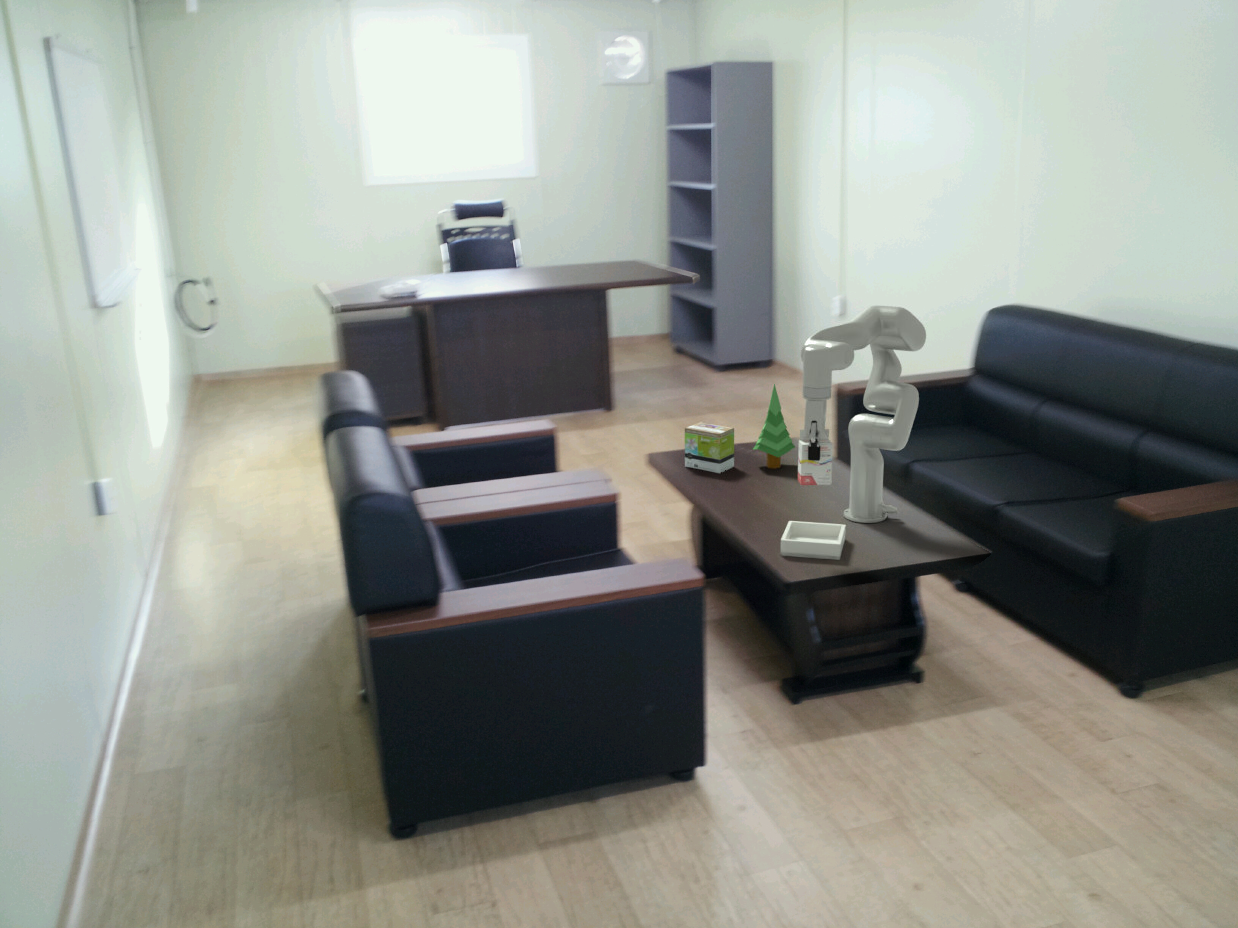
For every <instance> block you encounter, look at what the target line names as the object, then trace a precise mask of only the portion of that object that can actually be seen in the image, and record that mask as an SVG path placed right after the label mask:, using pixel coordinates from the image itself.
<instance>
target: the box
mask: <svg viewBox="0 0 1238 928" xmlns="http://www.w3.org/2000/svg"><path fill="white" fill-rule="evenodd" d="M846 526H847V525H846V524H840V523H829V522H828V523H827V522H811V521H798V520H796V521H795V520H788V522H787V524H786V527H785V530H784V532H783V534H782V536H781V538H780V556H783V557H798V558H811V559H821V560H823V559H824V560H836V561H840V560H841V556H842V552H843V549H844V546H845V541H846V531H847V530H846Z"/></svg>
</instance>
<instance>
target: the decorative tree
mask: <svg viewBox="0 0 1238 928" xmlns="http://www.w3.org/2000/svg"><path fill="white" fill-rule="evenodd" d="M772 387H773V388H772V392H771V397H770V401H769V405H768V409H767V415H766V417H765V421H764V425H763V427H762V429H761V432H760V434H759V436H758V439H757V441H756V442H755V446H754V447H753V448H752V450H753V451H755V450H758V451H761V452H763V453H766V466H767V468H768V469H778V468H781V458H782V456H783V455H785V454H787V453H788V452H790V451H791V450H793V449H795V448H796V446H795V444H793V439H792V438H791V437H790V432H789V430H788V429H787V425H786V423H785V421H784V420H785V419H784V416H783V413H782V407H781V403H780V398H779V395H778V391H777V387H776V384H775V383H774V384H773V386H772Z"/></svg>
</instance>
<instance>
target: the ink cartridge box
mask: <svg viewBox="0 0 1238 928" xmlns="http://www.w3.org/2000/svg"><path fill="white" fill-rule="evenodd" d="M809 433H810V431H809ZM809 433H808V434H807V435H806V436H805V435H804V429H800V430H799V440H798V453H797V454H798V457H797V459H798V460H797V482H798V483H799V484H800V486H830V485H832V481H833V479H832V478H833V477H832V476H833V452H834V451H833V449H834V448H833V447H834V446H833V445H834V444H833V442H832V441H831V440H830V437H829V435H830V429H828V428H825V430H824V432H823V434H822V435H821V436H820V443H819V446H820V460H819V461H814V460H808V445H809ZM816 438H818V437H816Z"/></svg>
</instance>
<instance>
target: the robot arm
mask: <svg viewBox="0 0 1238 928" xmlns="http://www.w3.org/2000/svg"><path fill="white" fill-rule="evenodd" d="M926 331H927V330H926V329H925V326H924V324H923V323H922V322H921V320H919V318H917V317H916V316H915V315H914V314H913V313H912V312H911V311H909V310H908V309H906V308H904V307H901V306H889V305H872V306H868V307H866V308H865V309H863V310H862V311H861V312H860V313H858V314H857V315H856V316H854V317H853V318H852V319H851V320H849V321H848V322H843V323H841V324H838V325H834V326H831V327H827V328H824V329H821V330H819V331H817V332H815V333H814V334H813V335H811V336H810V337H809V338H807V340H805V341H804V343H803V345H802V347H801V349H800V350H801V351H800V358H801V361H802V362H803V363H802V371H803V372H802V398H803V399H804V400H805V408H804V427H803V430H804V435H805V436H806V435H807V434H808V433H809V431H810V433H809V445H808V460H814V461H819V460H820V446H819V443H820V436H821V435H822V434H823V432H824V430H825V429H826V422H827V403H828V402H827V401H828V400H830V399H832V381H833V380H832V378H833V376H832V375H833V371H842V370H846V369H848V368H849V367H850V366H851V365H852V364H853V362H854V360H855V351H859V350H863V349H865V348H866V347H868V346H869V347H870V352H871V355H872V367H871V371H870V375H869V377H868V381H867V384H866V387H865V391H864V394H863V399H862V401H863V406H864V408H865V409H866V410H868V411H871V412H875V413H880V415H878V414H870V413H859V414H856V415H854V416H853V417H852V418H851V419H850V421H849V423H848V427H847V428H848V429H847V430H848V432H847V433H848V438H849V445H850V473H849V475H850V476H849V477H850V479H849V480H850V481H849V504H848V505H849V506H848V508H846V509H844V510H843V516H844V518H846V520H849V521H852V522H856V523H864V524H873V523H880V522H883V521H885V520H886V519H887V518H888V517H887V516H888V514H891V515H897V514H898V507H894V505H890V504H889V505H886V504H884V500H883V489H884V488H883V486H884V466H885V465H884V464H885V463H884V457H883V455H882V452H881V450H886V451H892V452H893V451H895V452H898V451H901V450H902V449H904V448H905V447H906V445H907V443H908V441H909V438H910V435H911V432H912V428H913V424H914V421H915V418H916V414H917V411H918V408H919V401H920V397H919V395H920V393H919V391H918V389H917V387H915V386H914V385H913V384H910V383H906V382H905V383H904V382H900V378H901V375H902V371H903V367H902V364H901V363H902V362H901V361H900V359H899V357H898V356H897V354H896V352H895V351H902V352H904V351H905V352H918V351H919V350H922V348H924V346H925V343H926V340H927V332H926ZM881 414H886V415H894V416H893V417H891V416H886V415H885V416H884V415H881ZM816 437H818V438H816Z"/></svg>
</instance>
